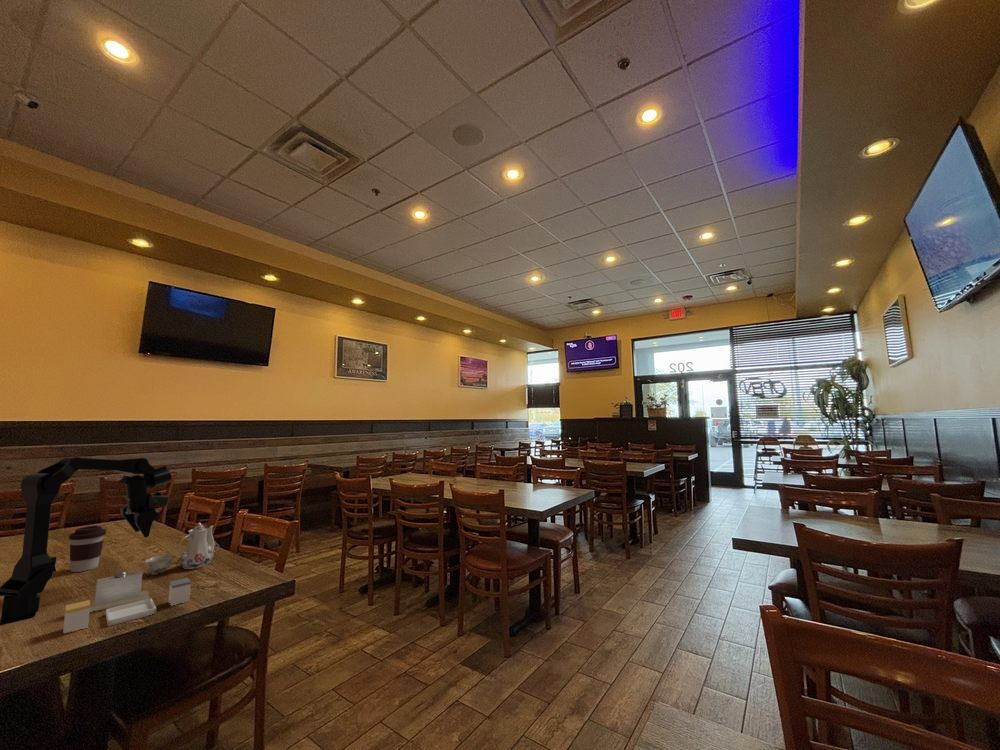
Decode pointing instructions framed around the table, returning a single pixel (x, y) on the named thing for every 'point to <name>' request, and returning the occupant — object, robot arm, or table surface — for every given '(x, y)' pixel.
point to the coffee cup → (86, 548)
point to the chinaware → (188, 551)
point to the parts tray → (130, 611)
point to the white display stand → (118, 590)
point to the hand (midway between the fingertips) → (142, 534)
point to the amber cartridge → (76, 616)
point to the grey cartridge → (179, 591)
